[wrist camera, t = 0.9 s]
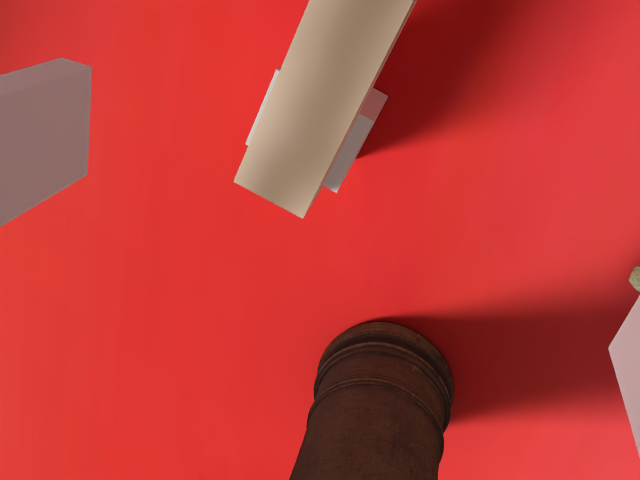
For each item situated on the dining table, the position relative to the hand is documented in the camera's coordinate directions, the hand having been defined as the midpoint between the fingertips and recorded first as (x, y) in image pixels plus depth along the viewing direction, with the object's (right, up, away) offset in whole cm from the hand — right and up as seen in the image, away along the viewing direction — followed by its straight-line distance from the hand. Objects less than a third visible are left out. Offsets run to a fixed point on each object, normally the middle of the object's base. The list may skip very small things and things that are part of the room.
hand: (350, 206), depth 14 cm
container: (+4, -10, +27) cm, 29 cm away
